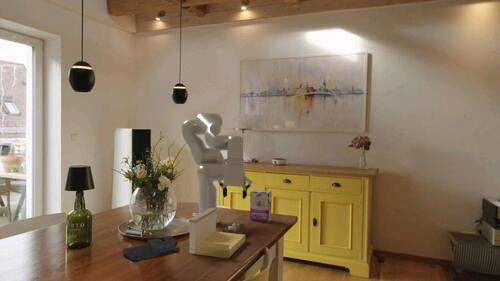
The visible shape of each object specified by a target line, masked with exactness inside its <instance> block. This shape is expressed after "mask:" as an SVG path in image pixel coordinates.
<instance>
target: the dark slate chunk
mask: <svg viewBox="0 0 500 281" xmlns="http://www.w3.org/2000/svg"><path fill="white" fill-rule="evenodd" d="M146 242H147V243H145V244H144V243H143V244H139V245H134V246H129V247H124V248H122V253H123V255H125V256H126V257H127V259H128V260H129V261H131V262H134V263H137V262H138V263H139V262H143V261H148V260H152V259H156V258H160V257H164V256H167V255H172V254H176V253H179V252H180V251H181V249H179V248H178V247H177V246H178V244H179V242H178V241H177V239H175V238H174V237H173V236H172V235H165V236H162V237H161V239H160V238H157V237H156V238H154V239H151V238H150V239H147V241H146Z"/></svg>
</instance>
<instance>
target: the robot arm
mask: <svg viewBox="0 0 500 281" xmlns="http://www.w3.org/2000/svg"><path fill="white" fill-rule="evenodd" d="M222 126H223V118H222V116H221V115H220V114H219V113H212V112H203V113H199V114H198V115H197V116H196V118H195V119H187V120H185V121H184V122H183V123H182V125H181V133H182V138H183V139H184V142H186V144H187V146H188V147H189V151H190V153H191V156H192V157H193V160H194V163H195V164H196V165H197V166H198V168H197V170H196V175H197V181H198V213H195V212H194V213H193V212H192V217H191V218H193V217H195V216H196V215H198V214H200V213H202V212H204V211H206V210H207V209H209V208H217V201H218V200H217V195H218V193H217V188H216V185H215V184H214V182H217V183H218V185H219V186H220V187H221V189H222V196H223V197H222V198H226V197H228V188H227V187H241V188H242V189H243V190H242V199H243V200H244V199H246V198H247V196H248V189H249V188H250V187H251V186H252V184H253V180H252V179H250V178H248V177H247V176H246V174H247V173H246V168H245V164H244V138H243V136H241V135H233V134H220V133H221V131H222ZM200 135H204V141H203V139H202V138H200ZM205 144H206V145H207V146H208V147H209V148H208V147H206V145H205ZM221 151H226V152H227V154H226V155H227V156H226V158H224V155H223V153H222V152H221ZM246 183H248V184H247V185H246ZM219 223H220V219H218V218H217V217H216V225H218V224H219Z"/></svg>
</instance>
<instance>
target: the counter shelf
mask: <svg viewBox="0 0 500 281" xmlns="http://www.w3.org/2000/svg"><path fill="white" fill-rule="evenodd" d="M217 210H218V208H217V207H216V208H209V209H207V210H206V211H204V212H202V213H200V214H198V213H197V214H198V215H196V216H195V217H191V218H189V219H188V223H189V250H188V252H189V254H192V255H199V256H207V257H208V256H209V257H214V258H215V257H216V258H223V259H229V258H230V257H231V256H232V255H233V254H234V253H235V252H236V251H237V250H238V249H239V248H240V247H241V246H242V245H243V244H244V243H245V242H246V234H233V233H224V232H223V231H217V224H216V218H217Z"/></svg>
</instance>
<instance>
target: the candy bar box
mask: <svg viewBox="0 0 500 281" xmlns="http://www.w3.org/2000/svg"><path fill="white" fill-rule="evenodd" d="M249 194H250V195H249V196H250V198H249V199H250V202H249V203H250V205H249V207H250V211H249V213H250V215H249V217H250V218H249V220H250V221H254V222H263V223H270V222H271V221H272V197H273V196H272V191H271V190H269V191H268V190H259V189H258V190H257V189H253V190H251V191H250V193H249Z"/></svg>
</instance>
